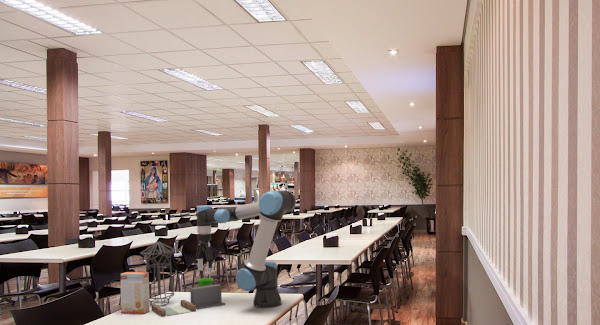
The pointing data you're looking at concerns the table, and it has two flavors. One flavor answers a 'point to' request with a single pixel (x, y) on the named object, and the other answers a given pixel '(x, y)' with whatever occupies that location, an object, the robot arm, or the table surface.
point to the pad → (175, 310)
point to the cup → (205, 282)
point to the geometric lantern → (159, 269)
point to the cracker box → (135, 292)
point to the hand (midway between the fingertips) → (205, 272)
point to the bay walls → (184, 304)
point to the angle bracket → (206, 296)
